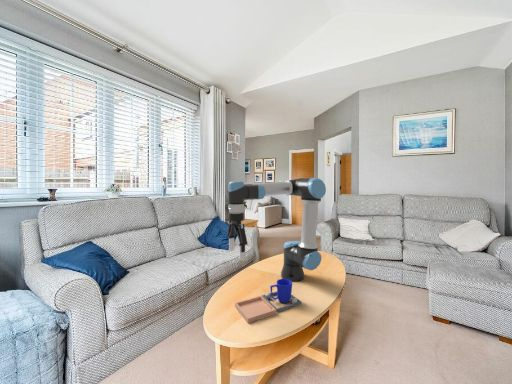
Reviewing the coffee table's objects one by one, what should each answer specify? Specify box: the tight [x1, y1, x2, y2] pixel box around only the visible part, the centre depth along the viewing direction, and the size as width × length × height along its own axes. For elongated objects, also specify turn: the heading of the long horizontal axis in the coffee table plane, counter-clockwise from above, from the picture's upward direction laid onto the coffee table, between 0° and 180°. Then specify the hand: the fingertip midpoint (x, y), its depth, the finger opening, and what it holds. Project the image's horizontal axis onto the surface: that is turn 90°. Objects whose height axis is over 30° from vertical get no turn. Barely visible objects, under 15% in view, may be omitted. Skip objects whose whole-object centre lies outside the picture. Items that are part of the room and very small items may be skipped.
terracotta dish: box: [234, 295, 277, 324], centre depth 112 cm, size 15×15×2 cm
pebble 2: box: [291, 297, 298, 304], centre depth 118 cm, size 3×3×3 cm
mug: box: [269, 278, 293, 304], centre depth 121 cm, size 8×12×10 cm
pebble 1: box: [264, 292, 272, 300], centre depth 123 cm, size 3×3×3 cm
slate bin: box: [261, 290, 302, 313], centre depth 121 cm, size 15×15×1 cm
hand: (236, 254), depth 116 cm, fingers open, 13 cm apart
